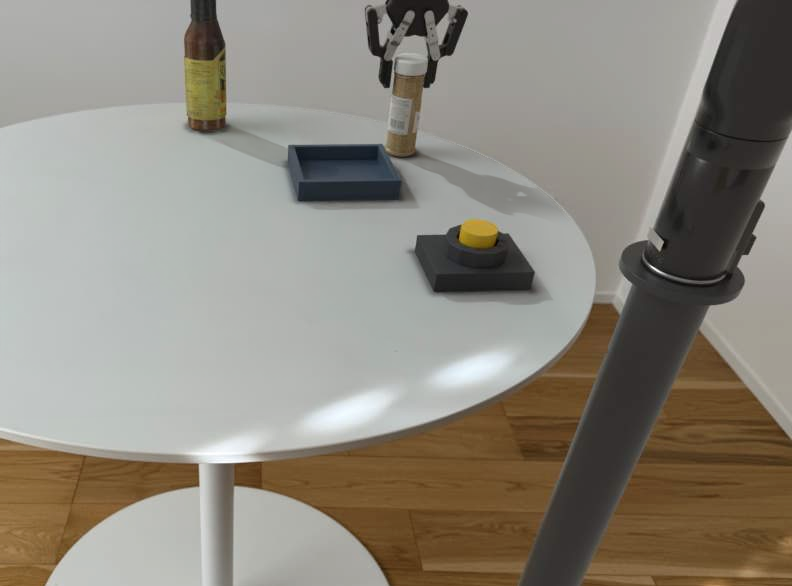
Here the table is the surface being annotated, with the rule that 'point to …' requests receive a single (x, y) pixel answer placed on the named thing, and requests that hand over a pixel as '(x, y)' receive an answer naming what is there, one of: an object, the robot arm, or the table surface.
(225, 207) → the table surface
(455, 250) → the button housing
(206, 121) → the sauce bottle
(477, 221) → the trigger button
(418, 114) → the spice jar
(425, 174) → the table surface
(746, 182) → the robot arm
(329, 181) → the tray
